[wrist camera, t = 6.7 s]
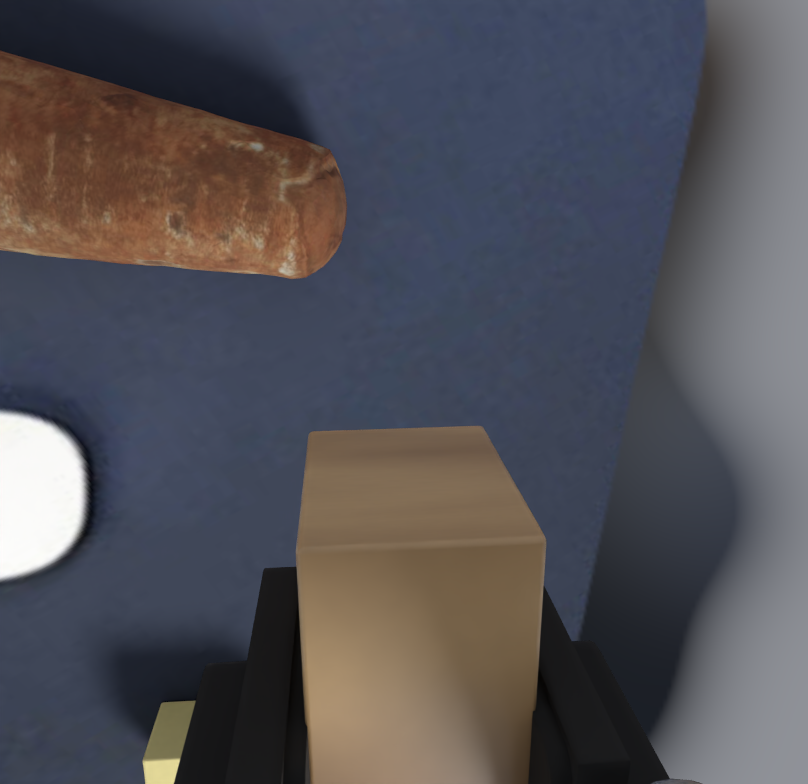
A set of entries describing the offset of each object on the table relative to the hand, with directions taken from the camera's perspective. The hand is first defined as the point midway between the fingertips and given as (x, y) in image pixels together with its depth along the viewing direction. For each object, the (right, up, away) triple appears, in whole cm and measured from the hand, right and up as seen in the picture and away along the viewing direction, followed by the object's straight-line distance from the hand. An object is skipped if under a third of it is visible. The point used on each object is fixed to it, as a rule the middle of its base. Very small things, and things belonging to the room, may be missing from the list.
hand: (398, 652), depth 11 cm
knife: (0, -4, +1) cm, 4 cm away
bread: (-11, +12, +12) cm, 20 cm away
